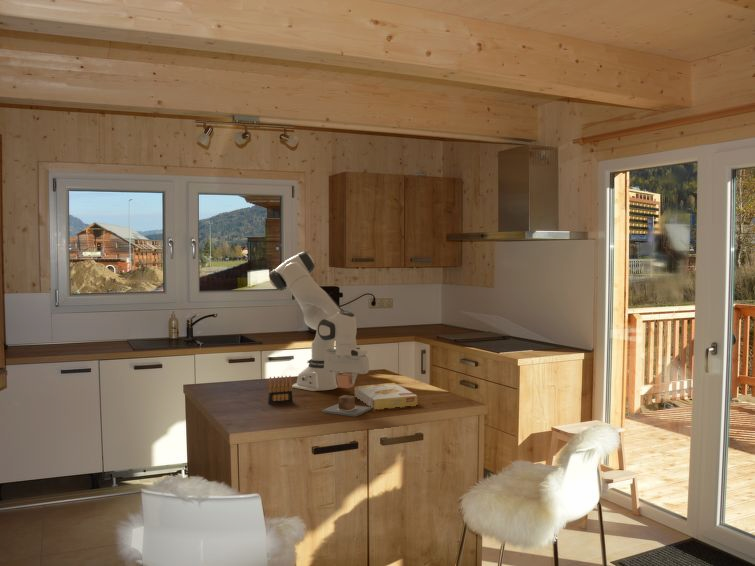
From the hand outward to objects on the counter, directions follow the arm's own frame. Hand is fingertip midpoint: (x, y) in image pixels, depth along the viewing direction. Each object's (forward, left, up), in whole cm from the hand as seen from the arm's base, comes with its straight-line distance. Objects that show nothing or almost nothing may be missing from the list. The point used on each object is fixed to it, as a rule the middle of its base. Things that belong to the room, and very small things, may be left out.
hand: (345, 382), depth 286 cm
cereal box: (+6, +25, -13) cm, 28 cm away
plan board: (0, 0, -12) cm, 12 cm away
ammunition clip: (-34, 0, -12) cm, 36 cm away
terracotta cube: (0, 0, -2) cm, 2 cm away
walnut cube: (0, 0, -11) cm, 11 cm away
